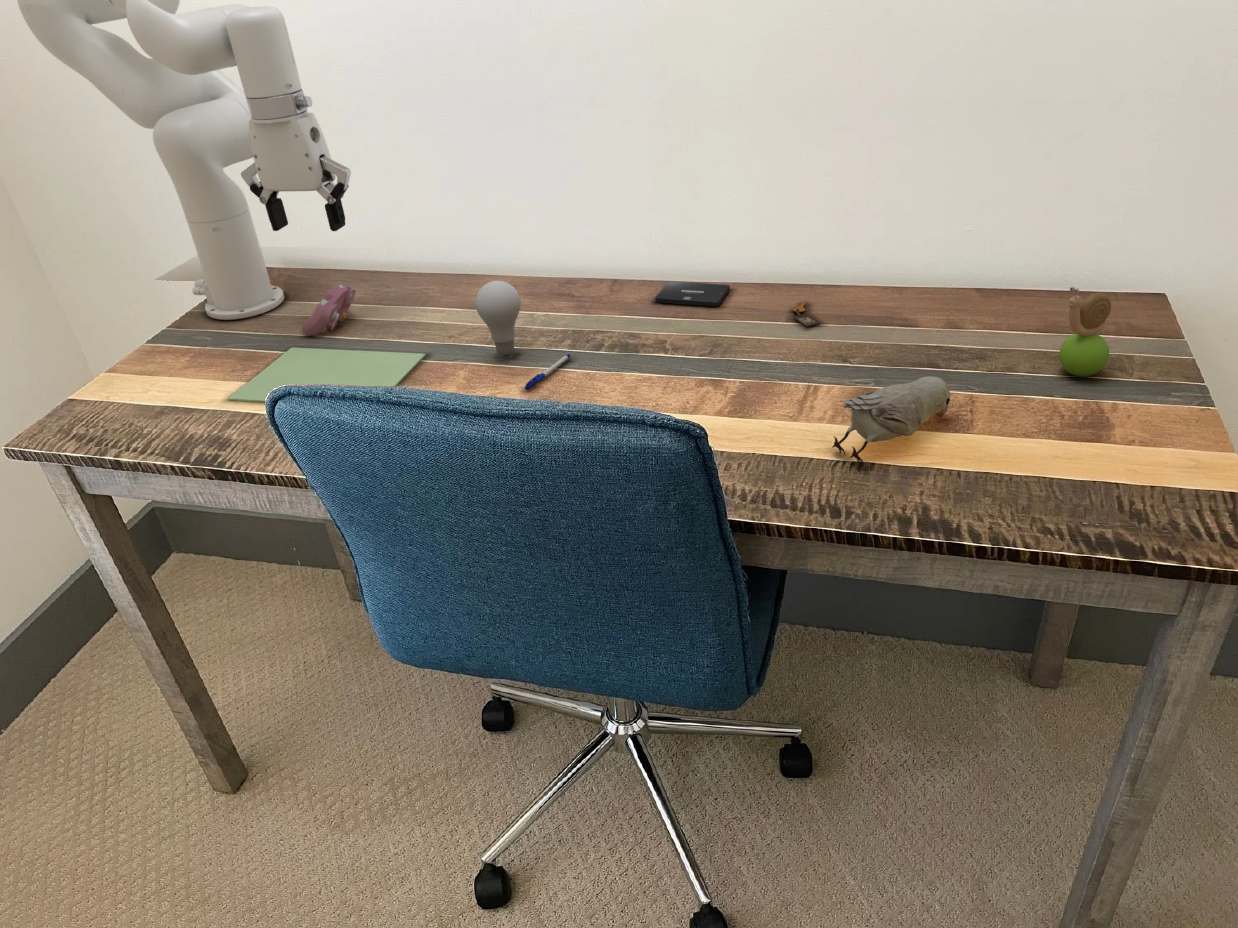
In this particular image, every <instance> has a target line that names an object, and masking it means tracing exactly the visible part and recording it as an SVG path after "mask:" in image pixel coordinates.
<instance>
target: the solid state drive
mask: <svg viewBox="0 0 1238 928" xmlns="http://www.w3.org/2000/svg"><path fill="white" fill-rule="evenodd" d="M730 290H731V285H729V284H718V283H703V282H689V281H675V280H670V281H668V282H667V283H666V284H665V285H664V286H663V287H662V289H661V290H660V291H659V292H658V293H657V294H656V296H655V299H654V300H655V302H656V303H665V304H676V305H677V304H678V305H690V306H691V305H692V306H704V307H718V306H720V304H721V303H722V301H723V300H724V298H725V297H726V296H727V295H728V293H729V292H730Z"/></svg>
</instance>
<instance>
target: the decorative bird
mask: <svg viewBox="0 0 1238 928" xmlns="http://www.w3.org/2000/svg"><path fill="white" fill-rule="evenodd" d="M950 392H951V391H950V387H949V386H948V384H947V383H946V382H945V380H943V379H942V378H941V377H938V376H932V375H931V376H923V377H921V378H918V379H916V380H914V381H911V382H907V383H906V382H905V383H898V384H891V385H888V386H884V387H881V388H879V389H877V390H874V391H869V392H866V393H864V394H861V395H858V396H856V397H852V398H849V399H845V400H840V401H839V402H840V403H845V405H843V406H842V408H843V409H849V412H851V414H850V422H851V424H850V426H849V427H848V428H847V431H846V432H845V434H844V436H843V437H842V438H841V439H840V440H838V438H837V437H836V436H835V435H833V436H832V437H833V438H834V442H833V445H832V446H831V448H832V449H833V448H836V449H838V451H839V454H841V453H842V452H843V454H844V455H846V452H845V449H844V448H843V446H841V444H842V443H843V442H844V441H846V439H847V438H848V437H849V434H851V433H852V432H854V431H856V433H857V434H859V436H860V437H862V438H863V439H864V440H865V441H864V443H863V444H862V447H860V449H858V450H857V449H856V447H854V446H852V445H851V448H852V453H851V455H850V456H849V459H851V458H854V459H856V460H857V465H859V464H860V462H861V464H862V466H863V467H864V466H865V465H864V460H863V458H861V456H860V455H859V454H861V452H862V451H864V450H865V448H866V447H867V445H868V444H869V443H876V442H877V443H878V442H882V441H884V442H885V441H889V440H893V439H896V438H901V437H910V436H912V435H914V434H915V433H916V432H917V431H918V430H919V428H920V427H921V426H922V425H923V424H924V423H926V421H927V420H928V419H929V417H930V416H931V415H935V416H937V417H940V418H942V417H944V416H945V414H946V413H947V411H948V409H949V406H950V402H951V393H950Z"/></svg>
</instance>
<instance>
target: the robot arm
mask: <svg viewBox="0 0 1238 928" xmlns="http://www.w3.org/2000/svg"><path fill="white" fill-rule="evenodd" d="M16 2H17V4H18V9H19V11H20V13H21V15H22V18H23V19H24V21H25V23H26V24H27V27H28V28H29V30H30V31H31V33H32V35H34V38H35V39H36V40H37V41H38V42H39V44H41V46H43V48H44V49H45V50H46V51H48V52H49V53H50V55H52V56H53V57H55V58H56V59H57V60H58V61H60V62H61V63H63V64H64V65H66V66H67V67H69V68H70V69H71V70H73V71H74V72H76V73H78V74H79V75H80V76H82V77H83V78H85V79H86V80H87V81H88V82H89V83H90V84H92V85H93V86H94V87H95V88H96V89H97V90H98V91H99V92H100V93H101V94H102V95H104V96H105V98H107V99H108V100H109V101H110V102H111V103H112V104H113V105H115V106H116V107H117V108H118V109H119V110H120V111H121V112H122V113H123V114H124V115H126V117H128V119H130V120H131V121H133V122H134V123H135V124H136V125H138V126H140V127H141V128H145V129H149V130H152V141H153V145H154V148H155V151H156V152H157V155H158V157H159V159H160V160H161V162H162V164H163V166H164V168H165V170H166V173H168V176H169V178H170V180H171V182H172V184H173V187H174V188H175V191H176V194H177V197H178V200H179V202H180V204H181V208H182V211H183V214H184V217H185V220H186V223H187V226H188V228H189V232H190V235H191V239H192V242H193V244H194V248H195V250H196V253H197V257H198V259H199V262H200V263H199V264H200V265H201V269H202V272H203V275H204V278H205V279H204V278H203V279H202V278H197V279H196V280H195V281H194V286H193V287H192V294H193V295H194V296H205V297H206V300H207V302H206V303H205V305H204V309H205V313H206V315H207V316H208V317H210V318H212V319H215V320H223V321H233V320H243V319H247V318H252V317H256V316H258V315H261V314H264V313H267V312H270V311H271V310H274V309H275V308H277V307H278V306H280V305H281V304H282V303H283V301H284V300H285V293H284V290H283V289H282V288H280V287H279V286H277V285H273V284H272V283H271V280H270V277H269V271H268V269H267V265H266V263H265V259H264V256H263V252H262V249H261V245H260V241H259V238H258V234H257V231H256V227H255V224H254V221H253V217H252V214H251V210H250V207H249V204H248V201H247V197H246V195H245V193H244V192H243V190H242V188H241V187H240V186H239V185H238V184H237V182H235V181H234V180H233V179H231V177H229V176H228V175H227V174H226V172H225V171H224V169H225V168H227V167H229V166H231V165H235V164H238V163H241V162H243V161H247V160H250V159H253V163H252V164H250V165H249V166H248V167H245V169H244V170H242V171H241V172H240V177H241V179H242V180H243V181H244V182H245V184H246V185H247V186H248V187H249V190H250V191H251V193H252V194H254V196H255V197H257V198H258V200H259V202H260V203H261V204H262V205H264V206H265V210H266V214H267V217H268V221H269V222H270V225H271V229H272V231H273V232H278V231H281V230H282V229H283V228H285V227H288V225H289V221H288V217H287V213H286V210H285V206H284V202H283V199H282V198H281V197H278V196H279V194H280V192H317V193H318V194H319V195H320V196H321V197H322V198H323V199H324V200H325V201H326V202H327V203H325V204H324V210H325V213H326V217H327V222H328V224H329V229H330V231H331V232H338V231H339V230H340V229H342V228H343V227H345V226H346V214H345V211H344V207H343V202H342V199H343V198H344V196H345V194H346V192H347V190H348V189H349V187H350V186H349V183H350V178H351V174H352V171H351V169H350V168H349V167H348V166H345V165H343V164H341V163H339V162H337V161H335V160H333V159H332V156H331V152H330V150H329V147H328V144H327V141H326V138H325V135H324V133H323V131H322V128H321V126H320V124H319V121H318V119H317V117H316V115H315V114H314V112H308V108H311V107H312V106H313V100H312V98H311V97H310V96H306V95H305V93H304V90H303V87H302V83H301V79H300V75H299V72H298V67H297V63H296V59H295V56H294V52H293V51H294V50H293V47H292V43H291V38H290V35H289V31H288V27H287V23H286V20H285V17H284V14H283V13H282V11H281V10H280V9H279V8H277V7H274V6H269V5H268V6H267V5H266V6H265V5H264V6H254V7H252V6H247V5H244V4H237V3H235V4H234V3H233V4H226V5H219V6H215V7H207V8H201V9H196V10H190V11H187V12H181V13H177V12H178V9H179V6H180V3H181V0H16ZM124 19H126V20H127V25H128V27H129V30H130V32H131V34H132V36H133V38H134V39H135V42H136V43H137V44H138V46H139V47H140V48H141V49H142V52H144V53H145V54H146V55H147V56H149V57H147V56H146V55H143V54H142V53H141V52H139V51H138V50H137V49H136V48H135V47H134V46H133V45H132V44H131V43H129V42H128V41H127V40H126V39H124V38H123V37H121V36H119V35H117V34H116V33H113V32H110V31H108V30H105V29H103V28H100V27H97V26H95V25H97V24H102V23H107V22H114V21H118V20H119V21H120V20H124ZM234 67H236V68H237V71H238V76H239V79H240V82H241V85H242V88H241V87H240V86H239V85H238V84H236V83H235V82H234V81H233V80H232V79H231V78H230V77H229V76H227V74H226V73H224V72H223V71H222V70H223V69H227V68H228V69H229V68H234ZM257 176H258V177H257ZM336 178H337V179H336ZM335 180H336V184H335V182H334V181H335Z"/></svg>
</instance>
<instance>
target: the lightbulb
mask: <svg viewBox="0 0 1238 928" xmlns="http://www.w3.org/2000/svg"><path fill="white" fill-rule="evenodd" d="M521 304H522V301H521V297H520V293H519V292H518V290H517V289H516V288H515V287H514V286H513V285H512V284H510V283H509V282H506V281H504V280H491V281H489V282H487V283H485V284H484V285H483V286H481V287H480V289H479V290H478V292H477V294H476V297H475V310H476V311H477V314H478V316H479V317H480V319H481V320H482V322H483V323H484V324H485V325H486V326H487V328H488V330H489V332H490V335H491V339H492V341H493V342H494V346H495V351H496V354H497V355H499V356H502V357H503V358H508V357H510V356H511V355H512V354H513V353H514V352H515V338H516V337H515V325H516V321H517V320H518V316H519V313H520V311H521Z"/></svg>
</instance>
